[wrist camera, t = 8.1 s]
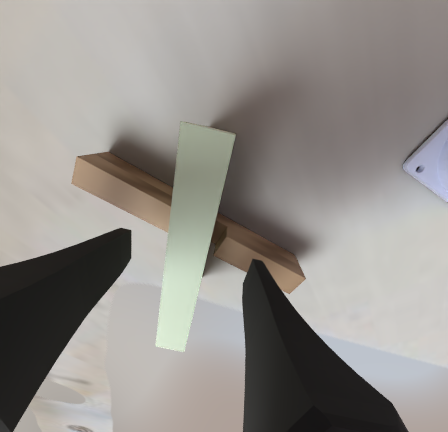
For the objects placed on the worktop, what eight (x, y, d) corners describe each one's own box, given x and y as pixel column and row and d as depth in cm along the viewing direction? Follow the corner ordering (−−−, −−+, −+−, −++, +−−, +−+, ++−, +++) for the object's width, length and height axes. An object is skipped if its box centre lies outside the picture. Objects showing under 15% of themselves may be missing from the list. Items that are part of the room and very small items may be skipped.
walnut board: (294, 254, 17) (305, 278, 14) (281, 268, 18) (289, 294, 15) (108, 151, 14) (76, 156, 11) (102, 174, 15) (71, 183, 12)
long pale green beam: (208, 126, 13) (180, 121, 6) (236, 133, 13) (235, 135, 6) (183, 273, 19) (155, 346, 12) (201, 277, 19) (184, 352, 12)
